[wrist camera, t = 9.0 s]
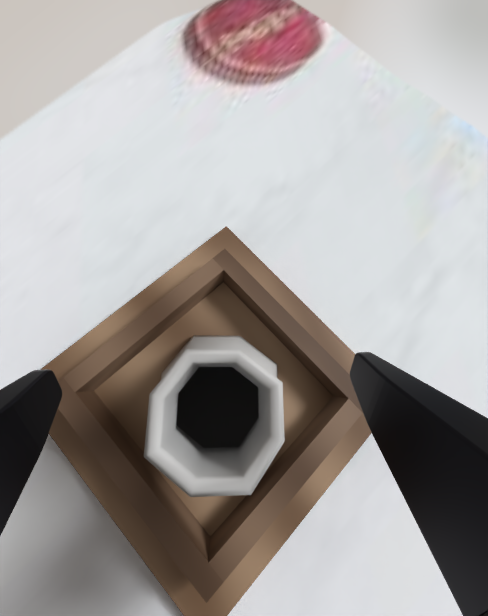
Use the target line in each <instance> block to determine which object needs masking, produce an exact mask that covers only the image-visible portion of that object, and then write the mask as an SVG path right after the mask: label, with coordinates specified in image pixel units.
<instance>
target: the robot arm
mask: <svg viewBox="0 0 488 616" xmlns="http://www.w3.org/2000/svg"><path fill="white" fill-rule="evenodd" d="M350 379H351V382H352V385H353V387H354V390H355V393H356V395H357V398H358V401H359V403H360V406H361V409H362V411H363V414H364V416H365V419H366V421H367V424H368V426H369V428H370V430H371V432H372V434H373V436H374V438H375V440H376V442H377V444H378V446H379V448H380V450H381V452H382V454H383V456H384V458H385V460H386V462H387V464H388V466H389V468H390V470H391V472H392V474H393V476H394V478H395V480H396V482H397V484H398V486H399V488H400V490H401V492H402V494H403V496H404V498H405V500H406V502H407V504H408V506H409V508H410V510H411V512H412V514H413V516H414V518H415V520H416V522H417V524H418V526H419V528H420V530H421V532H422V534H423V536H424V538H425V540H426V542H427V544H428V546H429V548H430V550H431V552H432V554H433V556H434V558H435V560H436V562H437V564H438V566H439V568H440V570H441V572H442V574H443V576H444V578H445V580H446V582H447V584H448V586H449V588H450V590H451V592H452V594H453V596H454V598H455V600H456V602H457V604H458V606H459V608H460V610H461V612H462V614H463V616H488V418H486V417H484V416H483V415H481V414H479V413H477V412H476V411H474V410H472V409H470V408H468V407H467V406H465V405H463V404H461V403H460V402H458V401H456V400H454V399H452V398H451V397H449V396H447V395H445V394H444V393H442V392H440V391H438V390H436V389H435V388H433V387H431V386H429V385H428V384H426V383H424V382H422V381H420V380H419V379H417V378H415V377H413V376H411V375H410V374H408V373H406V372H404V371H403V370H401V369H399V368H397V367H395V366H394V365H392V364H390V363H388V362H387V361H385V360H383V359H381V358H379V357H378V356H376V355H374V354H372V353H370V352H359V353H356V354H355V356H354V360H353V363H352V366H351V370H350ZM61 398H62V389H61V387H60V385H59V382H58V380H57V378H56V376H55V374H54V372H53V371H52V370H49V369H45V370H34V371H32V372H30V373H28V374H27V375H25V376H23V377H21V378H20V379H18V380H16V381H15V382H13V383H11V384H9V385H8V386H6V387H4V388H3V389H1V390H0V535H1V533H2V531H3V529H4V527H5V525H6V523H7V521H8V519H9V517H10V515H11V513H12V511H13V509H14V507H15V505H16V503H17V501H18V499H19V497H20V495H21V493H22V490H23V488H24V486H25V484H26V482H27V480H28V478H29V476H30V474H31V472H32V470H33V468H34V466H35V464H36V462H37V460H38V458H39V456H40V453H41V451H42V449H43V446H44V444H45V441H46V439H47V436H48V433H49V431H50V428H51V425H52V423H53V420H54V417H55V415H56V412H57V409H58V406H59V404H60V401H61Z"/></svg>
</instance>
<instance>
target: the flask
mask: <svg viewBox="0 0 488 616" xmlns="http://www.w3.org/2000/svg"><path fill="white" fill-rule="evenodd" d="M284 442H285V437H284V409H283V382H281V381H280V380H279V379H278V378H277V364H276V363H275V362H273V361H272V360H271V359H269V358H268V357H267V356H266V355H264V354H263V353H262V352H260V351H259V350H258V349H256V348H255V347H254V346H252V345H251V344H250V343H249V342H247V341H246V340H245V339H243V338H242V337H241V336H220V335H193V336H192V337H191V339H190V340H189V341H188V342H187V343H186V345H185V346H184V347H183V348H182V349H181V351H180V352H179V353H178V354H177V355H176V357H175V358H174V359H173V360H172V361H171V363H170V364H169V365H168V366H167V367H166V369H165V370H164V371H163V372H162V373H161V381H160V382H159V383H158V384H157V386H156V387H155V388H154V389H153V390H152V392H151V393H150V395H149V406H148V416H147V427H146V437H145V448H144V458H145V459H147V460H148V461H149V462H150V463H151V464H152V465H153V466H155V467H156V468H157V469H158V470H159V471H160V472H162V473H163V474H164V475H165V476H166V477H167V478H169V479H170V480H171V481H172V482H173V483H174V484H176V485H177V486H178V487H179V488H180V489H181V490H182V491H184V492H185V493H186V494H187V495H188V496H189V497H207V496H237V495H251V494H252V493H253V491H254V490H255V488H256V486H257V485H258V483H259V482H260V480H261V478H262V477H263V475H264V474H265V472H266V470H267V469H268V467H269V466H270V464H271V462H272V461H273V459H274V458H275V456H276V454H277V453H278V451H279V450H280V448H281V446H282V445H283V443H284Z"/></svg>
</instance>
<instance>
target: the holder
mask: <svg viewBox="0 0 488 616" xmlns="http://www.w3.org/2000/svg"><path fill="white" fill-rule="evenodd" d="M193 335H220V336H241V337H242V338H243V339H245V340H246V341H247V342H249V343H250V344H251V345H252V346H254V347H255V348H256V349H258V350H259V351H260V352H262V353H263V354H264V355H266V356H267V357H268V358H269V359H271V360H272V361H273V362H275V363H276V364H277V378H278V379H279V380H280V381H281V382H283V409H284V437H285V442H284V443H283V445H282V446H281V448H280V450H279V451H278V453H277V454H276V456H275V458H274V459H273V461H272V462H271V464H270V466H269V467H268V469H267V470H266V472H265V474H264V475H263V477H262V478H261V480H260V482H259V483H258V485H257V486H256V488H255V490H254V491H253V493H252V494H251V495H237V496H207V497H189V496H188V495H187V494H186V493H185V492H184V491H182V490H181V489H180V488H179V487H178V486H177V485H176V484H174V483H173V482H172V481H171V480H170V479H169V478H167V477H166V476H165V475H164V474H163V473H162V472H160V471H159V470H158V469H157V468H156V467H155V466H153V465H152V464H151V463H150V462H149V461H148V460H147V459H145V458H144V448H145V437H146V427H147V416H148V406H149V395H150V393H151V392H152V390H153V389H154V388H155V387H156V386H157V384H158V383H159V382H160V381H161V373H162V372H163V371H164V370H165V369H166V367H167V366H168V365H169V364H170V363H171V361H172V360H173V359H174V358H175V357H176V355H177V354H178V353H179V352H180V351H181V349H182V348H183V347H184V346H185V345H186V343H187V342H188V341H189V340H190V339H191V337H192V336H193ZM354 356H355V354H354V353H353V352H352V351H351V350H350V349H349V348H348V347H347V346H346V345H345V344H344V343H343V342H342V341H341V340H340V339H339V338H338V337H337V336H336V335H335V334H334V333H333V332H332V331H331V330H330V329H329V328H328V327H327V326H326V325H325V324H324V323H323V322H322V321H321V320H320V319H319V318H318V317H317V316H316V315H315V314H314V313H313V312H312V311H311V310H310V309H309V308H308V307H307V306H306V305H305V304H304V303H303V302H302V301H301V300H300V299H299V298H298V297H297V296H296V295H295V294H294V293H293V292H292V291H291V290H290V289H289V288H288V287H287V286H286V285H285V284H284V283H283V282H282V281H281V280H280V279H279V278H278V277H277V276H276V275H275V274H274V273H273V272H272V271H271V270H270V269H269V268H268V267H267V266H266V265H265V264H264V263H263V262H262V261H261V260H260V259H259V258H258V257H257V256H256V255H255V254H254V253H253V252H252V251H251V250H250V249H249V248H248V247H247V246H246V245H245V244H244V243H243V242H242V241H241V240H240V239H239V238H238V237H237V236H236V235H235V234H234V233H233V232H232V231H231V230H230V229H229V228H228V227H227V226H226V227H225V228H223V229H222V230H221V231H220V232H218V233H217V234H216V235H214V236H213V237H212V238H211V239H209V240H208V241H207V242H205V243H204V244H203V245H201V246H200V247H199V248H198V249H196V250H195V251H194V252H192V253H191V254H190V255H188V256H187V257H186V258H185V259H183V260H182V261H181V262H179V263H178V264H177V265H175V266H174V267H173V268H172V269H170V270H169V271H168V272H166V273H165V274H164V275H163V276H161V277H160V278H159V279H157V280H156V281H155V282H153V283H152V284H151V285H150V286H148V287H147V288H146V289H144V290H143V291H142V292H140V293H139V294H138V295H137V296H135V297H134V298H133V299H131V300H130V301H129V302H128V303H126V304H125V305H124V306H122V307H121V308H120V309H118V310H117V311H116V312H115V313H113V314H112V315H111V316H109V317H108V318H107V319H105V320H104V321H103V322H102V323H100V324H99V325H98V326H96V327H95V328H94V329H92V330H91V331H90V332H89V333H87V334H86V335H85V336H83V337H82V338H81V339H80V340H78V341H77V342H76V343H74V344H73V345H72V346H70V347H69V348H68V349H67V350H65V351H64V352H63V353H61V354H60V355H59V356H57V357H56V358H55V359H54V360H52V361H51V362H50V363H48V364H47V365H46V366H44V367H43V368H42V369H41V370H45V369H49V370H52V371H53V372H54V374H55V376H56V378H57V380H58V382H59V385H60V387H61V389H62V398H61V401H60V404H59V406H58V409H57V412H56V415H55V417H54V420H53V423H52V425H51V428H50V431H49V434H50V436H51V437H52V439H53V440H54V441H55V443H56V444H57V445H58V447H59V448H60V449H61V451H62V452H63V453H64V455H65V456H66V457H67V459H68V460H69V461H70V463H71V464H72V465H73V467H74V468H75V469H76V471H77V472H78V474H79V475H80V476H81V478H82V479H83V480H84V482H85V483H86V484H87V486H88V487H89V488H90V490H91V491H92V492H93V494H94V495H95V496H96V498H97V499H98V500H99V502H100V503H101V504H102V506H103V507H104V509H105V510H106V511H107V513H108V514H109V515H110V517H111V518H112V519H113V521H114V522H115V523H116V525H117V526H118V527H119V529H120V530H121V531H122V533H123V534H124V535H125V537H126V538H127V539H128V541H129V542H130V544H131V545H132V546H133V548H134V549H135V550H136V552H137V553H138V554H139V556H140V557H141V558H142V560H143V561H144V562H145V564H146V565H147V566H148V568H149V569H150V570H151V572H152V573H153V574H154V576H155V577H156V579H157V580H158V581H159V583H160V584H161V585H162V587H163V588H164V589H165V591H166V592H167V593H168V595H169V596H170V597H171V599H172V600H173V601H174V603H175V604H176V605H177V607H178V608H179V609H180V611H181V612H182V614H183V615H184V616H227V615H228V614H229V613H230V611H231V610H232V609H233V607H234V606H235V605H236V604H237V602H238V601H239V600H240V599H241V597H242V596H243V595H244V594H245V592H246V591H247V590H248V588H249V587H250V586H251V585H252V583H253V582H254V581H255V580H256V578H257V577H258V576H259V575H260V573H261V572H262V571H263V570H264V568H265V567H266V566H267V564H268V563H269V562H270V561H271V559H272V558H273V557H274V556H275V554H276V553H277V552H278V551H279V549H280V548H281V547H282V545H283V544H284V543H285V542H286V540H287V539H288V538H289V537H290V535H291V534H292V533H293V532H294V530H295V529H296V528H297V526H298V525H299V524H300V523H301V521H302V520H303V519H304V518H305V516H306V515H307V514H308V513H309V511H310V510H311V509H312V508H313V506H314V505H315V504H316V502H317V501H318V500H319V499H320V497H321V496H322V495H323V494H324V492H325V491H326V490H327V489H328V487H329V486H330V485H331V483H332V482H333V481H334V480H335V478H336V477H337V476H338V475H339V473H340V472H341V471H342V470H343V468H344V467H345V466H346V464H347V463H348V462H349V461H350V459H351V458H352V457H353V456H354V454H355V453H356V452H357V451H358V449H359V448H360V447H361V446H362V444H363V443H364V442H365V440H366V439H367V438H368V437H369V435H370V434H371V433H372V432H371V430H370V428H369V426H368V424H367V421H366V419H365V416H364V414H363V411H362V409H361V406H360V403H359V401H358V398H357V395H356V393H355V390H354V387H353V385H352V382H351V379H350V370H351V366H352V363H353V360H354Z"/></svg>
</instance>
